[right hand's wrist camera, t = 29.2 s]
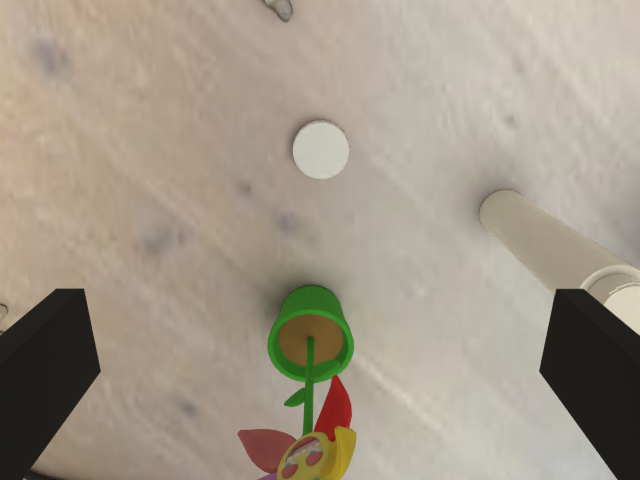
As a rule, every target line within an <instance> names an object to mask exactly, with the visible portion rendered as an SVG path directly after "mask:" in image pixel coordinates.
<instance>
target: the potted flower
mask: <svg viewBox="0 0 640 480" xmlns="http://www.w3.org/2000/svg"><path fill="white" fill-rule="evenodd" d="M353 350H354V342H353V337H352V334H351V331H350V328H349V326H348V324H347V322H346V321H345V318H344V315H343V312H342V309H341V305H340V302H339V301H338V299H337V298H336V296H335V295H334V294H333V293H331V292H330V291H329V290H327V289H325V288H322V287H318V286H305V287H301V288H299V289H297V290H295V291H293V292H292V293H291V294H290V295H289V296H288V297H287V298H286V300H285V302H284V304H283V306H282V309H281V312H280V314H279V317H278V319H277V320H276V321H275V323H274V325H273V327H272V329H271V332H270V335H269V338H268V353H269V356H270V359H271V361H272V363H273V364H274V366H275V367H276V368H277V369H278V370H279V371H280V372H281V373H283V374H284V375H286V376H287V377H289V378H291V379H294V380H297V381H301V382H305V388H302V389H300V390H299V391H297V392H296V393H295V394H293V395H292V396H291V397H290V398H289V399H288V400H287V401H286V402H285V403H284V405H285V406H290V407H294V406H298V405H300V404H302V403H303V402H305V403H304V424H303V435H302V437H301V438H299V439H298V440H296V439H295V438H293V437H292V436H290V435H288V434H286V433H283V432H280V431H276V430H270V429H256V430H240V431H239V432H238V436H239V438H240V440H241V441H242V443H243V445H244V447H245V449H246V452H247V454H248V455H249V457H250V458H251V460H252V461H253V462H254V463H255V465H256V466H257V467H259V468H260V469H262V470H263V471H264V472H267V473H270V474H269V475H267V476H265V477H262V478H260V479H258V480H340V479H341V477H342V476H343V475H344V473H345V472H346V470H347V468H348V466H349V464H350V461H351V458H352V456H353V452H354V448H355V443H356V432H354V431H353V430H352V429H350V428H349V426H350V422H351V417H352V410H351V403H350V399H349V396H348V394H347V392H346V390H345V388H344V386H343V384H342V383H341V381H340V379H339V377H338V376H337V375H338V374H339V373H341V372H342V371H343V370H344V369H345V368H346V367H347V365H348V364H349V362H350V360H351V358H352V355H353ZM331 378H332V381H331V387H330V389H329V392H328V395H327V397H326V400H325V403H324V405H323V408H322V410H321V413H320V415H319V418H318V420H317V423H316V425H315V429H314V432H313V383H317V382H321V381H325V380H328V379H331Z"/></svg>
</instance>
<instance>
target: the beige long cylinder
mask: <svg viewBox="0 0 640 480" xmlns="http://www.w3.org/2000/svg"><path fill="white" fill-rule="evenodd" d="M479 218H480V222H481V224H482V226H483V227H484V228H485V229H486V230H487V231H488V232H489V233H490V234H491V235H492V236H493V237H494V238H495V239H496V240H497V241H498V242H499V243H500V244H501V245H502V246H503V247H504V248H505V249H506V250H507V251H508V252H509V253H511V254H512V255H513V256H514V257H515V258H516V259H517V260H518V261H519V262H520V263H521V264H522V265H523V266H524V267H525V268H526V269H527V270H528V271H529V272H530V273H531V274H532V275H533V276H534V277H535V278H536V279H537V280H538V281H539V282H540V283H541V284H542V285H543V286H544V287H546V288H547V289H548V290H549V291H550V292H551V293H552V294H553V295H554V296H555V292H556V289H585V290H586V291H587V292H588V293H589V294H591V295H592V296H593V297H594V298H595V299H597V300H598V301H599V302H600V303H601V304H603V305H604V306H605V307H606V308H607V309H609V310H610V311H611V312H612V313H613V314H615V315H616V316H617V317H618V318H619V319H621V320H622V321H623V322H624V323H625V324H626V325H628V326H629V327H630V328H631V329H632V330H634V331H635V332H636V333H637V334H638V335H639V334H640V270H638V269H637V268H635V267H634V266H632V265H631V264H629V263H627V262H626V261H624V260H623V259H621V258H619V257H618V256H616V255H615V254H613V253H612V252H610V251H608V250H607V249H605V248H604V247H602V246H600V245H599V244H597V243H596V242H594V241H593V240H591V239H589V238H588V237H586V236H585V235H583V234H581V233H580V232H578V231H577V230H575V229H574V228H572V227H570V226H569V225H567V224H566V223H564V222H562V221H561V220H559V219H558V218H556V217H555V216H553V215H551V214H550V213H548V212H547V211H545V210H543V209H542V208H540V207H539V206H537V205H536V204H534V203H532V202H531V201H529V200H528V199H526V198H524V197H523V196H521V195H520V194H518V193H516V192H514V191H511V190H500V191H497V192H494V193H492V194H491V195H489V196H488V197H487V198H486V199H485V200H484V202H483V203H482V205H481V208H480V211H479Z"/></svg>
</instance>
